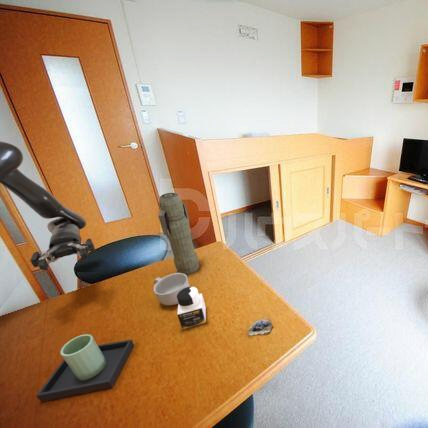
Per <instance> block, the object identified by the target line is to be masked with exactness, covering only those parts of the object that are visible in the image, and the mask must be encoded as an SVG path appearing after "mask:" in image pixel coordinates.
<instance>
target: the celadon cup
mask: <svg viewBox="0 0 428 428" xmlns="http://www.w3.org/2000/svg"><path fill="white" fill-rule="evenodd" d="M98 345H99V344H97V342H96V340H95V338H94V337H93V335H92V334H89V333H85V334H81V335H78V336H76V337H74V338H72V339H70V340H69V341H67V342H66V343H65V344H64V345H63V346H62V347H61V349H60V353H59V354H60V355H61V356H62V358H63V360H64V359H65V361H66V362H67V364H68V365H69V366H70V368H71V369H72V371H73V372H74V374H75V375H76V377H77V378H78V379H79V380H87V379H90V378H92V377H94V376H96V375H97V374H98V373H100V372H101V371H102V370H103V368H104V367H105V365H106V359H105V357H104V356H103V354H102V352H101V350H100V349H99V347H98Z"/></svg>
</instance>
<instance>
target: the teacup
mask: <svg viewBox="0 0 428 428" xmlns="http://www.w3.org/2000/svg"><path fill="white" fill-rule="evenodd" d="M153 282H154V286H153V293H154V294H155V296H156V298H157V299H158V302H159V303H161V304H162V305H165V306H175V305H178V304H179V303H178V300H177V294H178V293H179V291H180V290H182V289H184V288H186V287H191V286H190V282H189V278H188V275H185V274H183V273H178V272H173V273H170V274H167V275H165V276H164V277H159V276H158V277H155V278H154V280H153Z"/></svg>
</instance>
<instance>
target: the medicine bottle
mask: <svg viewBox="0 0 428 428" xmlns="http://www.w3.org/2000/svg"><path fill="white" fill-rule="evenodd" d="M177 300H178V304H177V311H176V312H177V313H176V315H177V318H178V322H179V325H180V327H181V330H185V329H189V328H192V327H196V326H198V325H202V324H205V323H206V322H207V321H206V320H207V310H206V309H207V308H206V307H207V306H206V304H205V300H204V296H203V293H199V290H198V288H197V287H195V286H190V287H186V288H184V289H182V290H180V291H179V293H178V294H177Z"/></svg>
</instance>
